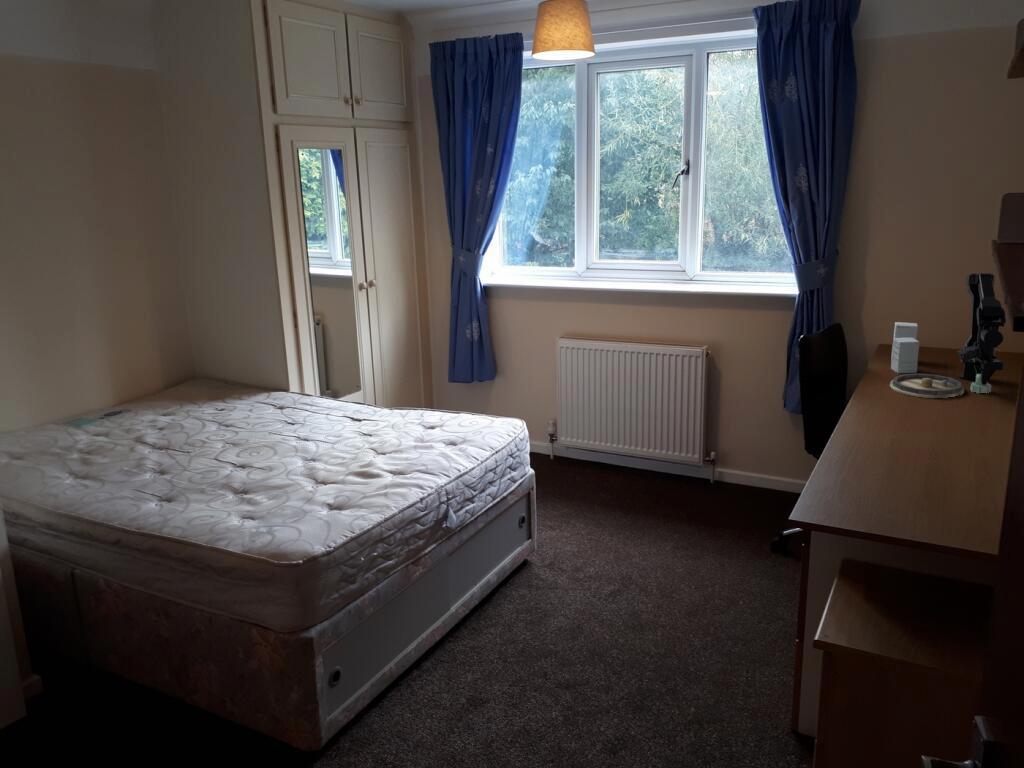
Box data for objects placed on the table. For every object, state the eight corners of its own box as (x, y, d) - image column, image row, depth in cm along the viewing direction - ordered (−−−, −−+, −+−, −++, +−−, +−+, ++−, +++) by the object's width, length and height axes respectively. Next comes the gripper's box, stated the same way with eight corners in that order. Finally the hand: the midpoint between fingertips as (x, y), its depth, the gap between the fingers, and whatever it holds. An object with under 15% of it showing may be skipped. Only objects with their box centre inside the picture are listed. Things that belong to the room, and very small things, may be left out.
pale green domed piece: (975, 387, 286) (977, 371, 284) (993, 391, 281) (995, 375, 279) (967, 391, 282) (969, 374, 281) (984, 394, 278) (986, 378, 276)
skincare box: (891, 362, 322) (894, 325, 318) (890, 358, 328) (894, 321, 324) (914, 363, 319) (918, 325, 315) (913, 359, 325) (917, 322, 321)
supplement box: (909, 368, 314) (912, 337, 310) (917, 373, 306) (920, 341, 303) (890, 368, 314) (892, 337, 311) (897, 373, 307) (899, 341, 304)
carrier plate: (912, 375, 303) (913, 366, 302) (977, 389, 284) (978, 379, 283) (876, 388, 291) (876, 379, 290) (941, 402, 271) (942, 393, 270)
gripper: (952, 334, 287) (947, 375, 291) (971, 346, 269) (965, 390, 273) (986, 334, 285) (980, 375, 289) (1007, 346, 267) (1001, 390, 271)
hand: (981, 383), depth 281 cm, fingers closed on pale green domed piece, 4 cm apart
